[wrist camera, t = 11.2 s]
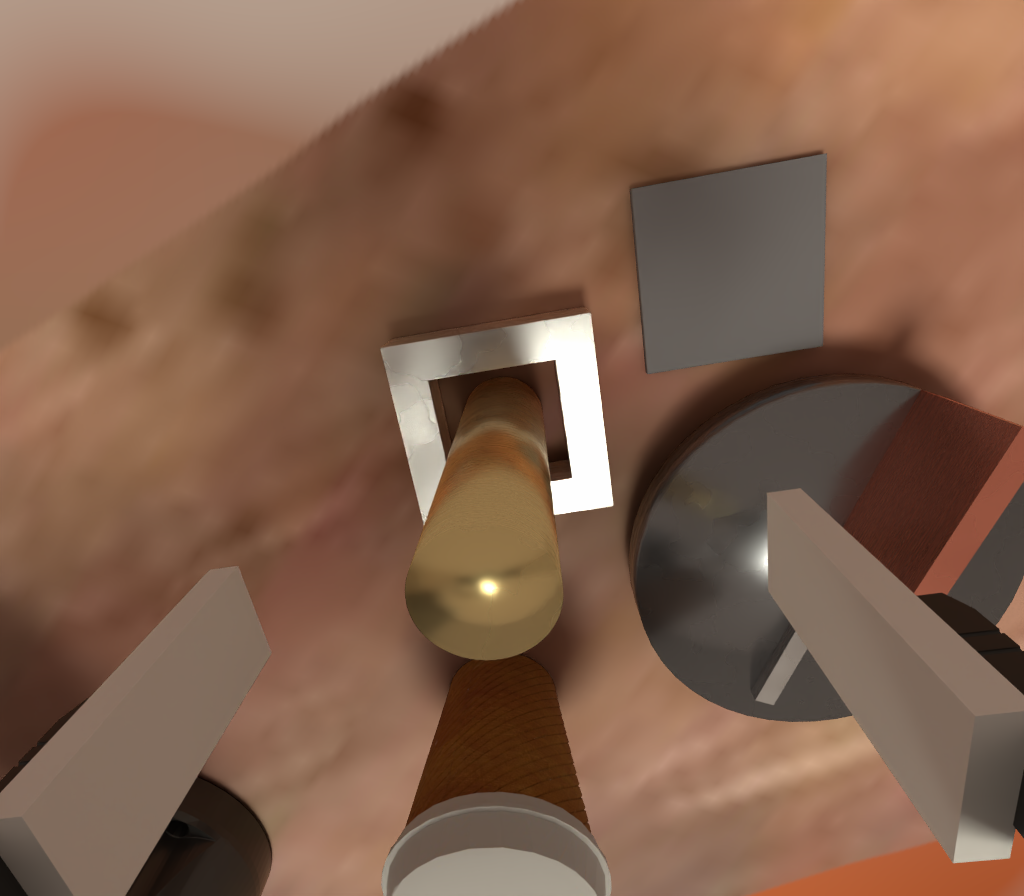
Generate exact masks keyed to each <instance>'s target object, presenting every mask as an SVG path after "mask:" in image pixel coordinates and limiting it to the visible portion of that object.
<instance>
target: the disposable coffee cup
mask: <svg viewBox="0 0 1024 896" xmlns="http://www.w3.org/2000/svg"><path fill="white" fill-rule="evenodd" d="M557 699H558V698H557V695H556V689H555V686H554V683H553V680H552V678H551V677H550V675H549V673H548V672H547V671H546V670H545V669H544V668H543V667H542V666H541V665H539V664H538V663H537V662H535V661H534V660H532V659H529V658H527V657H525V656H522V655H515V656H512V657H509V658H504V659H498V660H475V659H472V660H471V661H469V662H468V663H466V664H465V665H463V666H462V667H461V668H460V669H459V670H458V672H457V673H456V675H455V676H454V678H453V680H452V683H451V686H450V689H449V692H448V695H447V699H446V702H445V705H444V708H443V711H442V714H441V717H440V720H439V724H438V727H437V730H436V733H435V736H434V739H433V742H432V745H431V748H430V752H429V755H428V758H427V761H426V764H425V767H424V770H423V774H422V777H421V780H420V783H419V786H418V789H417V792H416V795H415V799H414V802H413V805H412V808H411V811H410V814H409V817H408V820H407V824H406V827H405V829H404V830H403V832H402V833H401V835H400V836H399V838H398V840H397V842H396V843H395V844H394V845H393V846H392V847H391V849H390V852H389V854H388V857H387V859H386V862H385V865H384V868H383V871H382V884H381V885H382V890H383V895H384V896H610V894H611V875H610V872H609V868H608V865H607V861H606V858H605V856H604V854H603V853H602V852H601V850H600V849H599V847H598V845H597V843H596V841H595V839H594V837H593V835H592V834H591V830H590V826H589V824H588V823H587V822H588V818H587V814H586V811H585V810H584V809H585V805H584V803H583V800H582V798H581V797H582V793H581V790H580V787H578V785H579V782H578V779H577V776H576V775H575V774H576V770H575V767H574V765H573V763H574V762H573V759H572V756H571V754H570V753H571V750H570V747H569V744H568V742H569V741H568V738H567V736H566V731H565V727H564V722H563V719H562V714H561V711H560V708H559V707H560V706H559V703H558V700H557Z"/></svg>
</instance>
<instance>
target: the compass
mask: <svg viewBox="0 0 1024 896" xmlns="http://www.w3.org/2000/svg"><path fill="white" fill-rule="evenodd" d="M798 488H801V489H802V490H803V491H804V492H805V493H806V494H807V495H808V496H809V497H810V498H811V499H813V500H814V501H815V502H816V503H817V504H818V505H819V506H820V507H821V508H822V509H823V510H824V511H826V512H827V513H828V514H829V515H830V516H831V517H832V518H833V519H834V520H835V521H836V522H837V523H838V524H840V525H841V526H842V527H843V528H844V529H845V530H846V531H847V532H848V533H849V534H850V535H851V536H853V537H854V538H855V539H856V540H857V541H858V542H859V543H860V544H861V545H862V546H863V547H864V548H865V549H867V550H868V551H869V552H870V553H871V554H872V555H873V556H874V557H875V558H876V559H877V560H878V561H880V562H881V563H882V564H883V565H884V566H885V567H886V568H887V569H888V570H889V571H890V572H891V573H892V574H894V575H895V576H896V577H897V578H898V579H899V580H900V581H901V582H902V583H903V584H904V585H905V586H907V587H908V588H909V589H910V590H911V591H912V592H913V593H914V594H915V595H916V596H918V595H926V594H934V593H944V594H946V595H948V596H950V597H952V598H954V599H956V600H958V601H960V602H962V603H964V604H966V605H968V606H970V607H973V608H975V609H976V610H977V611H978V612H979V613H981V614H982V615H983V616H984V617H985V618H987V619H988V620H989V621H990V622H991V623H993V624H994V625H995V626H996V624H997V623H998V622H999V620H1000V619H1001V617H1002V616H1003V614H1004V613H1005V611H1006V610H1007V608H1008V606H1009V605H1010V603H1011V602H1012V600H1013V598H1014V596H1015V594H1016V592H1017V590H1018V587H1019V585H1020V583H1021V581H1022V579H1023V576H1024V426H1021V425H1018V424H1016V423H1013V422H1010V421H1008V420H1005V419H1002V418H1000V417H997V416H994V415H992V414H989V413H986V412H983V411H981V410H978V409H975V408H973V407H970V406H967V405H965V404H962V403H959V402H957V401H954V400H951V399H948V398H946V397H942V396H939V395H936V394H933V393H931V392H928V391H925V390H923V389H920V388H917V387H915V386H912V385H909V384H907V383H904V382H900V381H896V380H892V379H888V378H884V377H880V376H871V375H861V374H826V375H819V376H813V377H806V378H800V379H796V380H792V381H789V382H785V383H782V384H778V385H774V386H772V387H769V388H767V389H764V390H762V391H759V392H757V393H754V394H752V395H749V396H747V397H745V398H743V399H742V400H740V401H738V402H736V403H734V404H732V405H731V406H729V407H727V408H725V409H723V410H722V411H721V412H719V413H718V414H716V415H715V416H713V417H712V418H711V419H709V420H708V421H706V422H705V423H704V424H702V425H701V426H700V427H699V428H698V429H696V430H695V431H694V432H693V433H692V434H691V435H690V436H689V437H688V438H686V439H685V440H684V441H683V442H682V443H681V444H680V445H679V447H678V448H677V449H676V450H675V451H674V452H673V453H672V454H671V456H670V457H669V458H668V459H667V460H666V461H665V463H664V464H663V466H662V467H661V469H660V470H659V472H658V473H657V475H656V476H655V477H654V479H653V480H652V482H651V484H650V486H649V488H648V490H647V492H646V494H645V496H644V498H643V500H642V502H641V504H640V507H639V510H638V513H637V516H636V519H635V522H634V525H633V531H632V536H631V541H630V551H629V571H630V581H631V587H632V590H633V594H634V598H635V602H636V605H637V608H638V611H639V614H640V617H641V620H642V623H643V627H644V629H645V631H646V634H647V636H648V638H649V640H650V643H651V645H652V647H653V648H654V650H655V651H656V653H657V654H658V656H659V657H660V659H661V661H662V662H663V663H664V664H665V665H666V667H667V668H668V669H669V670H670V671H671V672H672V673H673V674H674V676H675V677H676V678H678V679H679V680H680V681H681V682H682V683H684V684H685V685H686V686H687V687H688V688H690V689H691V690H692V691H694V692H695V693H697V694H699V695H700V696H702V697H703V698H705V699H707V700H708V701H710V702H713V703H715V704H717V705H719V706H721V707H723V708H726V709H728V710H731V711H735V712H738V713H741V714H744V715H747V716H752V717H757V718H762V719H767V720H777V721H788V722H803V721H821V720H830V719H838V718H842V717H847V716H852V713H851V712H850V711H849V709H848V708H847V706H846V705H845V703H844V702H843V700H842V699H841V697H840V696H839V694H838V693H837V691H836V690H835V688H834V687H833V686H832V684H831V683H830V681H829V680H828V678H827V677H826V675H825V674H824V672H823V671H822V669H821V668H820V666H819V665H818V663H817V662H816V661H815V659H814V658H813V656H812V655H811V653H810V652H809V650H808V649H807V647H806V646H805V644H804V643H803V641H802V640H801V638H800V637H799V635H798V634H797V633H796V631H795V630H794V628H793V627H792V625H791V624H790V622H789V621H788V619H787V618H786V616H785V615H784V613H783V612H782V610H781V609H780V608H779V606H778V605H777V603H776V602H775V600H774V599H773V597H772V596H771V594H770V593H769V591H768V531H767V493H769V492H777V491H784V490H791V489H798Z"/></svg>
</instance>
